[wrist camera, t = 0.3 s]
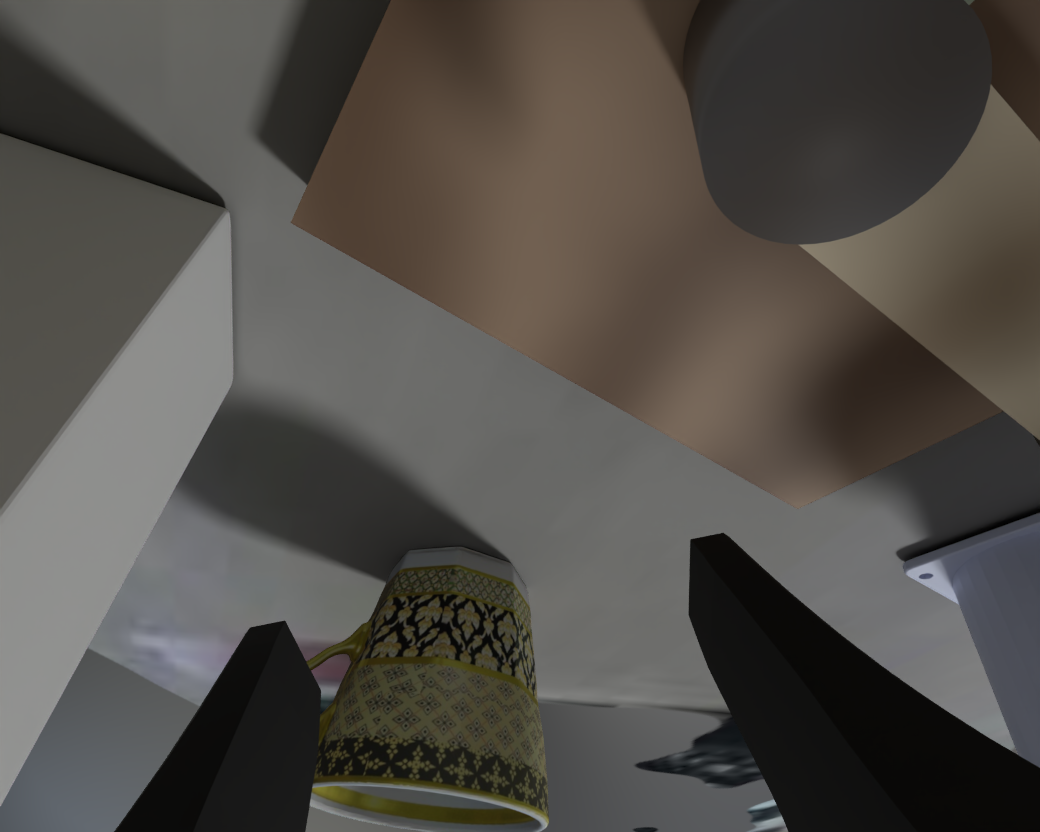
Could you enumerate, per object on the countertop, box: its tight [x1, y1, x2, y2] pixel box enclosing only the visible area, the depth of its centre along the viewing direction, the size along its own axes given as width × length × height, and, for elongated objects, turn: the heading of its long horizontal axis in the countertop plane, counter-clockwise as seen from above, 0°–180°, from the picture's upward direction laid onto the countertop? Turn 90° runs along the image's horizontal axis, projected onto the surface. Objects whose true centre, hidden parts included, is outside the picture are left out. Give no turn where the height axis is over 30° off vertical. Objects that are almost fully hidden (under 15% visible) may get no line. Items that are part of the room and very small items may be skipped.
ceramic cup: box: [307, 547, 549, 832], centre depth 27 cm, size 13×10×10 cm
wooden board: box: [291, 0, 1040, 509], centre depth 13 cm, size 18×18×2 cm
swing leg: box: [683, 0, 1040, 446], centre depth 11 cm, size 13×4×3 cm, turn 56°
